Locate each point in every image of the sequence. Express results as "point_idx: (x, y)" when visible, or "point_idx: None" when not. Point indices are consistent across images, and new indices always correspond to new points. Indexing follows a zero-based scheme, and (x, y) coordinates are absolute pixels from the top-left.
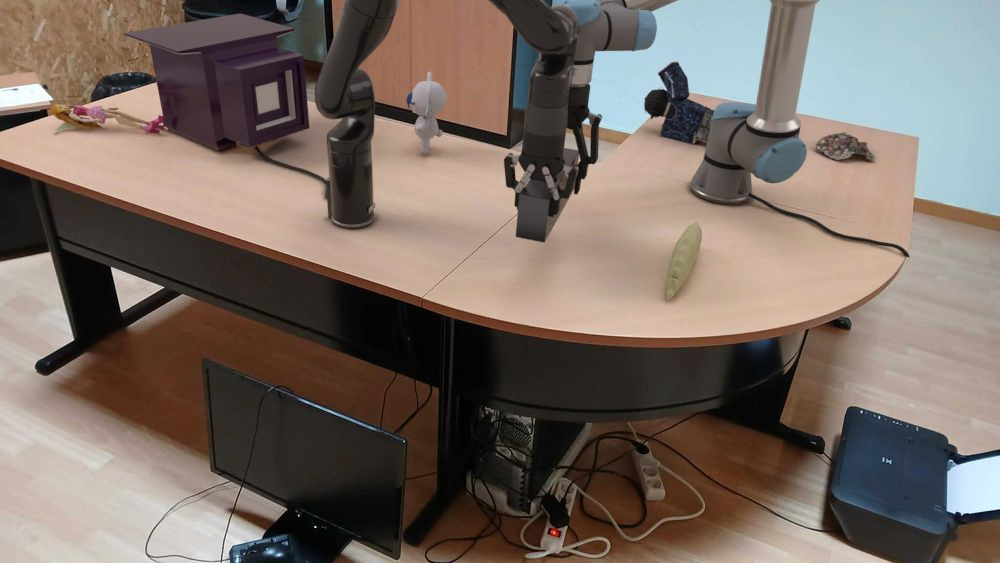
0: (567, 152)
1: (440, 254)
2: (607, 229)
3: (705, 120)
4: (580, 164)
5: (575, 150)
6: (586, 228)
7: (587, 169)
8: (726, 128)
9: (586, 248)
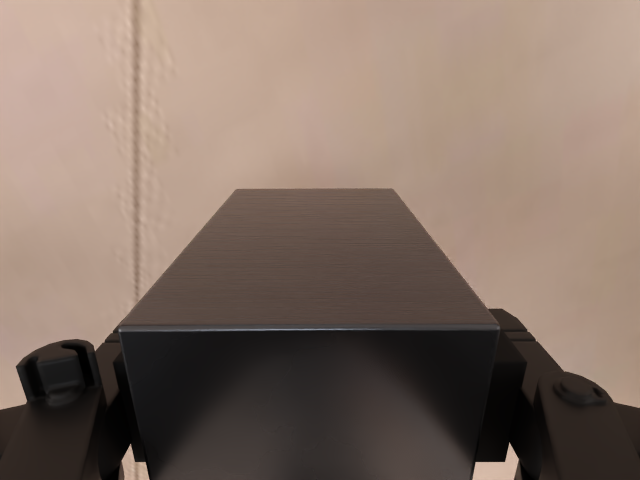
0: (357, 444)
1: None
2: (502, 53)
3: None
4: (499, 439)
5: (447, 354)
6: (420, 81)
7: (541, 349)
8: None
9: (436, 230)
